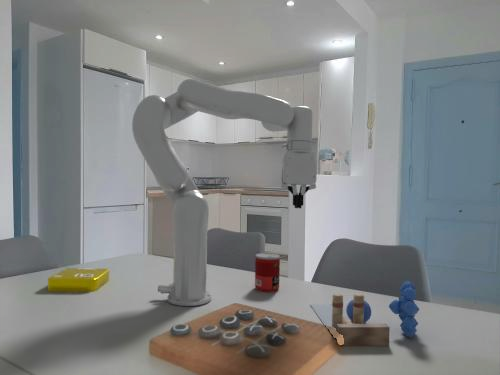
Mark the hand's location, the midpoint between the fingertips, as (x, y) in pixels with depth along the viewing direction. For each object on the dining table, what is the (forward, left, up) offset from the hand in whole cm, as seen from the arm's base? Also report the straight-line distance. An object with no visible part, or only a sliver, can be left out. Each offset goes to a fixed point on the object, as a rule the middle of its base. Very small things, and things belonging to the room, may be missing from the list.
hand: (297, 207), depth 117 cm
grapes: (+20, -29, -27) cm, 45 cm away
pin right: (+9, -28, -27) cm, 40 cm away
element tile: (-69, +12, -28) cm, 75 cm away
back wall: (+8, -35, -27) cm, 45 cm away
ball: (+12, -23, -24) cm, 35 cm away
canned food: (-8, +8, -27) cm, 30 cm away
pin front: (+7, -25, -26) cm, 37 cm away
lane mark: (+7, -20, -27) cm, 35 cm away
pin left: (+4, -28, -27) cm, 39 cm away
